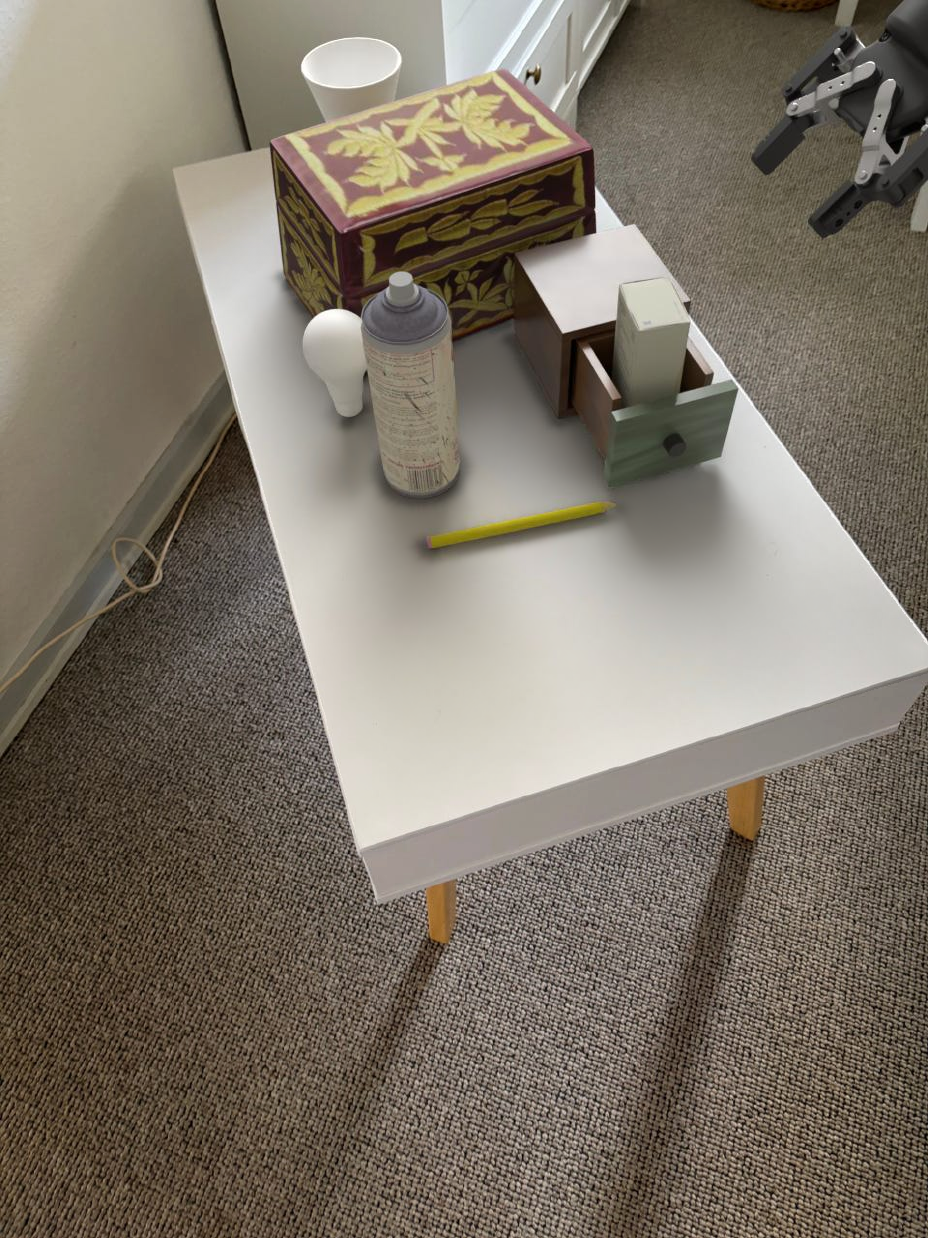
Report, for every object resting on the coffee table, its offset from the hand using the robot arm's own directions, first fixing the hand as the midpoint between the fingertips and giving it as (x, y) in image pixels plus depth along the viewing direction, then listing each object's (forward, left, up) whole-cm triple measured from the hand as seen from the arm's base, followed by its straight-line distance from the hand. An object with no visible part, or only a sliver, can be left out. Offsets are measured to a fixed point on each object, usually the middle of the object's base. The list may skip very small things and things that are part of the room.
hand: (785, 198), depth 73 cm
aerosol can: (+25, +15, -21) cm, 36 cm away
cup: (+46, -24, -21) cm, 56 cm away
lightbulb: (+34, +11, -21) cm, 41 cm away
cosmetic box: (+8, +6, -19) cm, 21 cm away
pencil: (+14, +19, -21) cm, 32 cm away
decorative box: (+32, -10, -21) cm, 40 cm away
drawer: (+7, +7, -20) cm, 22 cm away
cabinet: (+14, -2, -21) cm, 25 cm away
